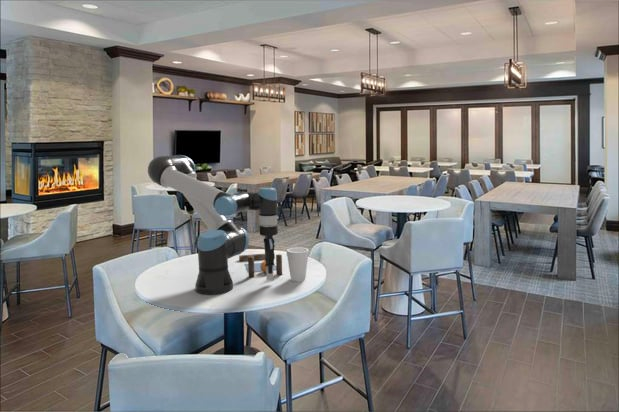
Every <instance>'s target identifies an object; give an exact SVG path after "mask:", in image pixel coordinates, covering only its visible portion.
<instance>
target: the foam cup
mask: <svg viewBox="0 0 619 412" xmlns="http://www.w3.org/2000/svg"><path fill="white" fill-rule="evenodd" d="M286 257H287V261H288V269H289V276H290V280H291V281H292V282H303V281H305V280H306V277H307V268H308V261H309V249H308V248H307V247H290V248H287V249H286Z"/></svg>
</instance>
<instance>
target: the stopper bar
mask: <svg viewBox="0 0 619 412" xmlns="http://www.w3.org/2000/svg"><path fill="white" fill-rule="evenodd" d="M250 256H253V257H254V261H260V260H261V261H263V260H265V253H256V254H254V253H253V254H239V255H238V260H239V262H246V261H247V262H248V257H250ZM274 260H276V254H275V253H274Z"/></svg>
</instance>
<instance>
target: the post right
mask: <svg viewBox="0 0 619 412" xmlns="http://www.w3.org/2000/svg"><path fill="white" fill-rule="evenodd" d="M282 255H283V254H279V253H278V254H275V266H276V270H275V271H276V276H282V275H283V256H282Z"/></svg>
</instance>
